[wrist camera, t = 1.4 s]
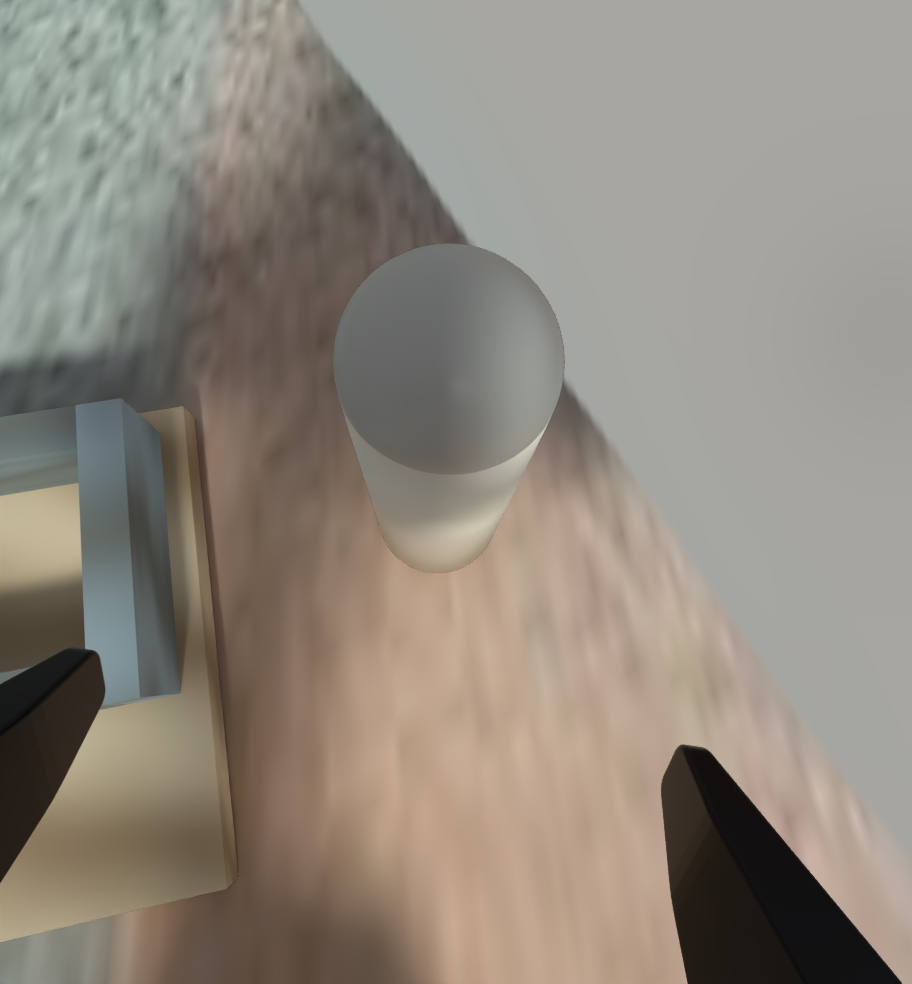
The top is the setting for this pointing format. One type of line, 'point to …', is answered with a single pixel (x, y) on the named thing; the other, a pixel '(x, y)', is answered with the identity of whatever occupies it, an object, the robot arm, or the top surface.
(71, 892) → the jig
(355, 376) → the cylinder
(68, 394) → the top surface
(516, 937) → the top surface
